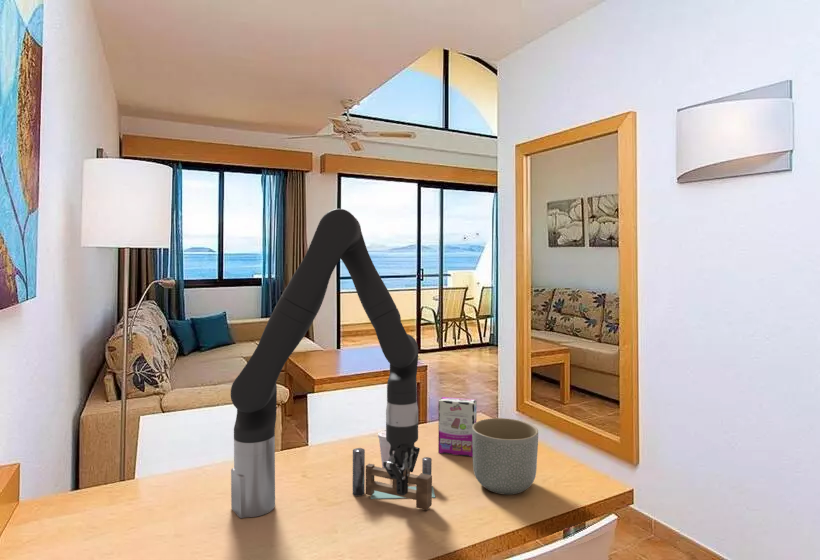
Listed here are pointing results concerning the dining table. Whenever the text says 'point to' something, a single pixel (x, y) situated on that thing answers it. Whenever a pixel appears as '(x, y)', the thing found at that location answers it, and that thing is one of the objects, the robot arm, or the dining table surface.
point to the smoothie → (384, 446)
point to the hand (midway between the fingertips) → (402, 493)
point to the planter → (504, 454)
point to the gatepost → (358, 472)
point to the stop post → (427, 465)
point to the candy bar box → (456, 425)
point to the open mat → (388, 496)
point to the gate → (420, 494)
